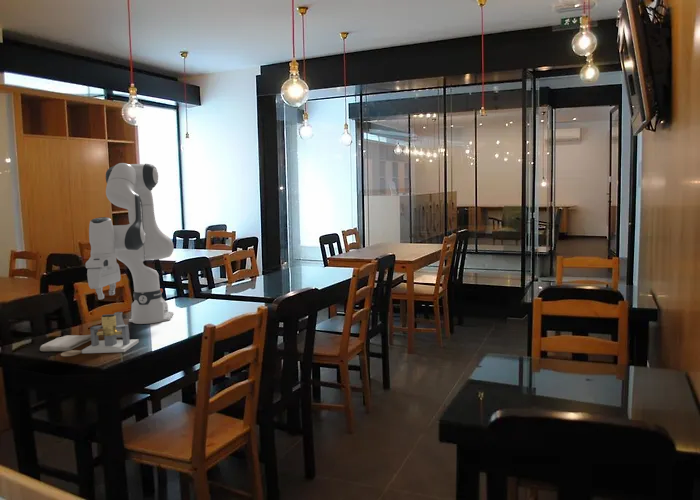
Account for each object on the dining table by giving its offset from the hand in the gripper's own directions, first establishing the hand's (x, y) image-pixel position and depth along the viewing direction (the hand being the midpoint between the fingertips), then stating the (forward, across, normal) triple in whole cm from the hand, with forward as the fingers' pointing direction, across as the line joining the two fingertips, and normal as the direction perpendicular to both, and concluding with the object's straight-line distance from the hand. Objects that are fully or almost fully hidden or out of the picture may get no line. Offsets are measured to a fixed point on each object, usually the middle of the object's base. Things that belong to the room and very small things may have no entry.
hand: (106, 297), depth 223 cm
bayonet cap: (+14, 0, 0) cm, 15 cm away
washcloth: (+20, -6, -20) cm, 29 cm away
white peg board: (+20, 0, 0) cm, 20 cm away
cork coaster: (+20, +6, -12) cm, 24 cm away
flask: (+20, -18, -4) cm, 27 cm away
